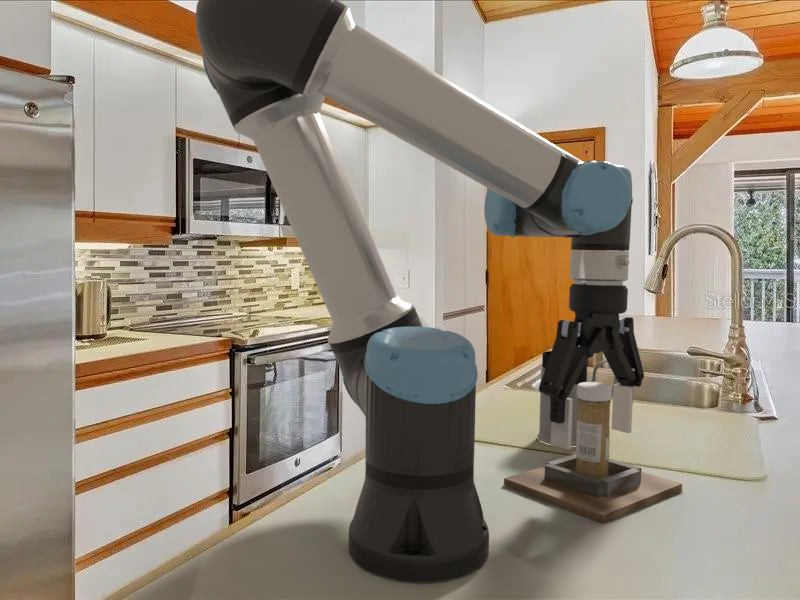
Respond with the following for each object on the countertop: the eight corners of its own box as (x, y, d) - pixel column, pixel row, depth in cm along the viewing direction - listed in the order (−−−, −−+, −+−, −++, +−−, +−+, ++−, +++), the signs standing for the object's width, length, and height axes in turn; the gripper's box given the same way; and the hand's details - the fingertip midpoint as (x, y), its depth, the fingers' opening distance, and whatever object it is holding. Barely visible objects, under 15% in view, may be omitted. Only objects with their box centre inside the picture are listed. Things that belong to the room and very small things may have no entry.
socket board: (603, 523, 78) (604, 498, 78) (503, 485, 91) (504, 463, 91) (682, 490, 89) (682, 469, 89) (583, 460, 102) (584, 441, 102)
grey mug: (528, 434, 117) (530, 350, 116) (602, 431, 119) (605, 349, 118) (548, 448, 108) (551, 358, 107) (628, 445, 111) (631, 356, 110)
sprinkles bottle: (615, 482, 89) (619, 385, 88) (593, 489, 87) (596, 389, 86) (589, 473, 93) (592, 379, 92) (567, 479, 91) (569, 382, 90)
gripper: (562, 285, 78) (555, 462, 79) (674, 283, 93) (667, 430, 94) (514, 282, 83) (509, 446, 85) (627, 280, 99) (621, 419, 100)
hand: (592, 438), depth 90 cm, fingers open, 13 cm apart
